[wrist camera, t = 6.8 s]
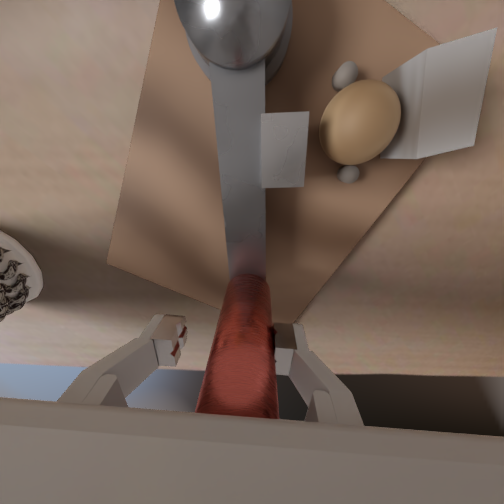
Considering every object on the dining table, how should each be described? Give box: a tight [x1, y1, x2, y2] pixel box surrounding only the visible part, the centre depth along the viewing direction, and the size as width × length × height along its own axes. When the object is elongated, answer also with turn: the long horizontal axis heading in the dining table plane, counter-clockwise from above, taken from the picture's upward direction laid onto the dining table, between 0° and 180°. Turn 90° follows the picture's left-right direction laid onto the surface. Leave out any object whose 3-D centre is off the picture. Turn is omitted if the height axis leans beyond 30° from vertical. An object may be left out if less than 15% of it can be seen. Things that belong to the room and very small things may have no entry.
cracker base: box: [106, 0, 497, 324], centre depth 13 cm, size 21×16×4 cm
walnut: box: [319, 79, 401, 165], centre depth 10 cm, size 4×4×4 cm
